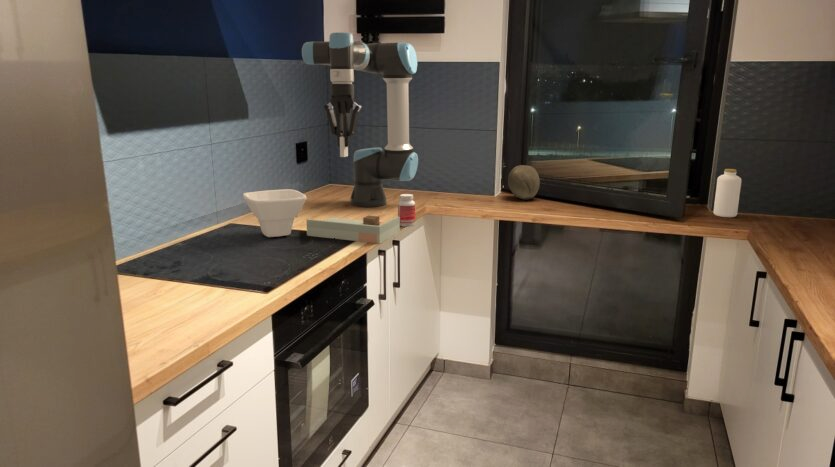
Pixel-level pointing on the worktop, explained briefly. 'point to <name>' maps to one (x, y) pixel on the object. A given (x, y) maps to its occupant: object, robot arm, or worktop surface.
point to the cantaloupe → (524, 182)
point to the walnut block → (371, 220)
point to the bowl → (275, 209)
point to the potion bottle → (727, 194)
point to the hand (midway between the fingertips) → (344, 156)
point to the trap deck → (353, 229)
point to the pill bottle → (406, 210)
